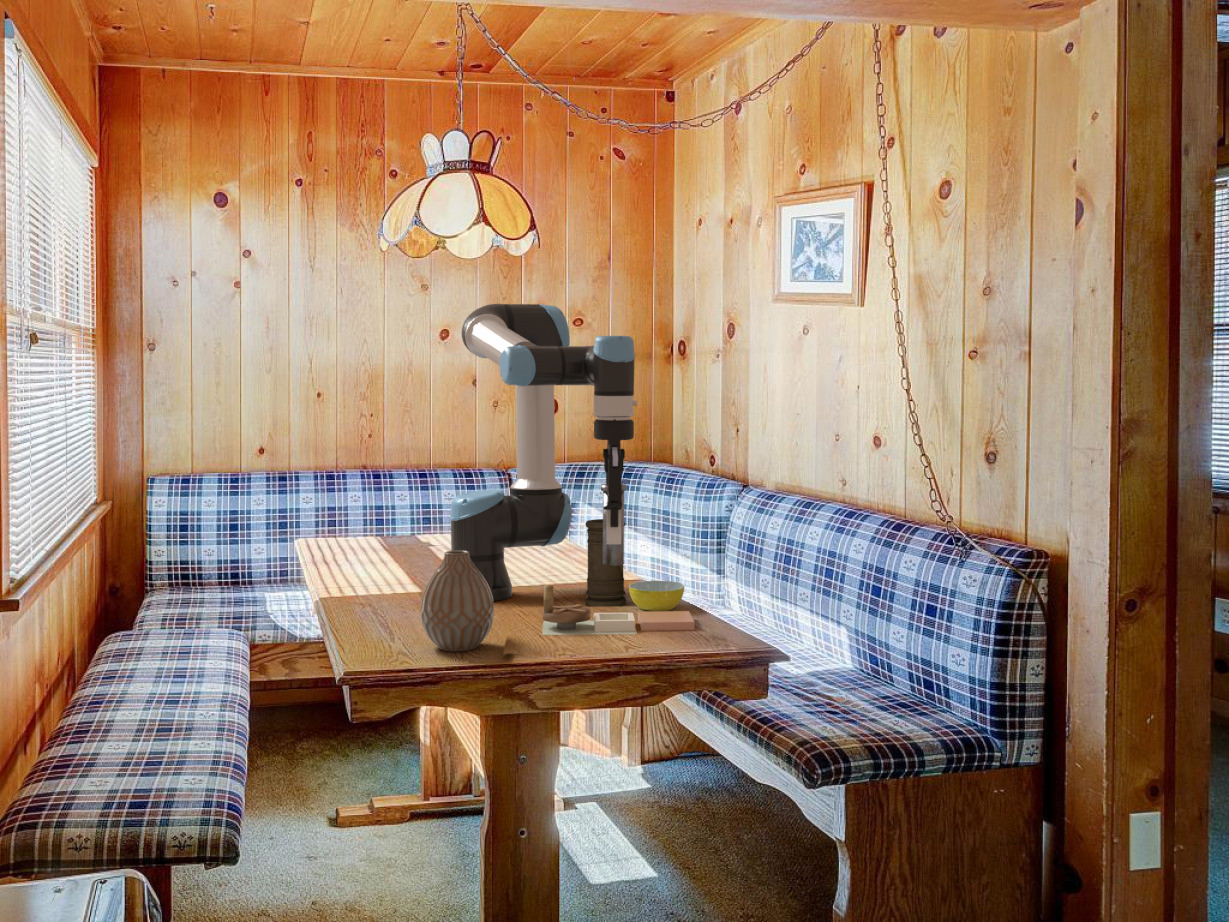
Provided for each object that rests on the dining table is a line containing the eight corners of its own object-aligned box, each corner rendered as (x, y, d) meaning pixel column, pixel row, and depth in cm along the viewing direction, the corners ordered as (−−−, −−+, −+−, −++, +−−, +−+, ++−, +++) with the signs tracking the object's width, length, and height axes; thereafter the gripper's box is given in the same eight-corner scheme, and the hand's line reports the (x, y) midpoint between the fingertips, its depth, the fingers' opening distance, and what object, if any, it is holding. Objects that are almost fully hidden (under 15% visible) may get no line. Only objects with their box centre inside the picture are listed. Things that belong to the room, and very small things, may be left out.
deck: (542, 642, 220) (542, 624, 220) (543, 628, 232) (543, 611, 232) (637, 641, 221) (637, 623, 220) (633, 627, 233) (633, 610, 232)
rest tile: (641, 638, 224) (641, 622, 223) (638, 626, 234) (638, 611, 233) (694, 637, 224) (694, 621, 224) (688, 626, 234) (688, 611, 234)
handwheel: (572, 625, 220) (572, 590, 219) (533, 619, 224) (533, 585, 224) (599, 616, 227) (599, 583, 227) (560, 611, 232) (560, 578, 232)
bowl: (643, 622, 237) (643, 592, 237) (619, 612, 248) (619, 582, 247) (694, 618, 242) (694, 588, 241) (668, 607, 252) (669, 579, 252)
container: (596, 609, 250) (596, 524, 249) (577, 602, 258) (577, 519, 257) (634, 605, 254) (634, 522, 253) (614, 598, 262) (614, 517, 261)
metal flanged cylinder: (601, 565, 223) (601, 486, 222) (600, 561, 228) (600, 483, 227) (626, 565, 223) (627, 486, 222) (625, 561, 228) (625, 483, 227)
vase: (407, 652, 212) (406, 555, 211) (443, 637, 225) (442, 545, 223) (473, 658, 208) (472, 559, 206) (506, 642, 220) (505, 548, 219)
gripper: (636, 420, 215) (635, 549, 217) (631, 416, 232) (630, 535, 234) (595, 420, 215) (594, 549, 217) (592, 415, 232) (592, 535, 234)
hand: (613, 541), depth 225 cm, fingers closed on metal flanged cylinder, 4 cm apart
